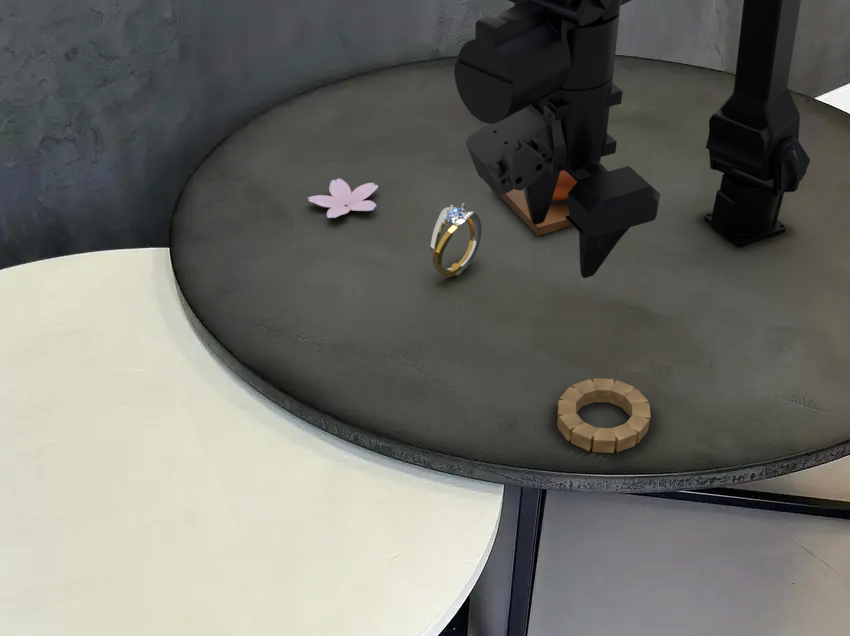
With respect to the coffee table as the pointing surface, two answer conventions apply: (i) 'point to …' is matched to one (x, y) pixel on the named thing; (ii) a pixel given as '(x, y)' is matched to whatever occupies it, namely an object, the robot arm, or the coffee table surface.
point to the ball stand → (556, 211)
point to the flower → (345, 198)
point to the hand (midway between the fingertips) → (561, 248)
